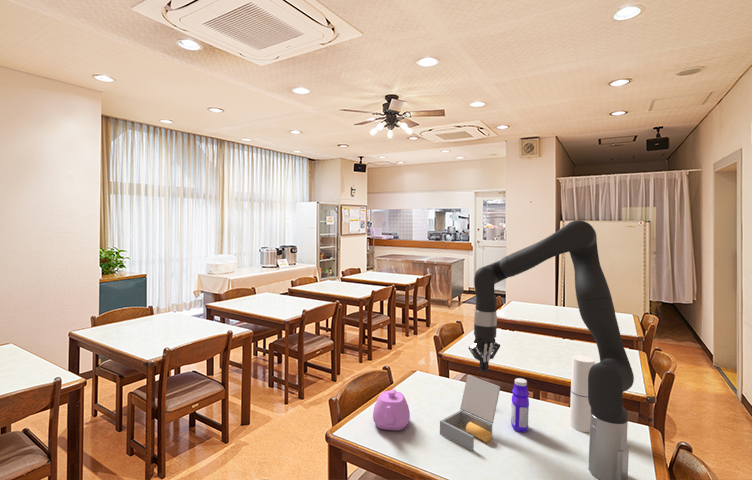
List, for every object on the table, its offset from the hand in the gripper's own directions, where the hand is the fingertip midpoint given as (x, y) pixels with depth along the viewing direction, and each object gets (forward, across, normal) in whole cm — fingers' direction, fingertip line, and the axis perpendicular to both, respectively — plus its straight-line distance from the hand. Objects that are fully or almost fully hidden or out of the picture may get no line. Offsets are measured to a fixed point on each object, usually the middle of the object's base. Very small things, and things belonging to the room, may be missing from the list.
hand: (483, 371), depth 132 cm
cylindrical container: (+21, -34, +14) cm, 42 cm away
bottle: (+21, -13, +5) cm, 25 cm away
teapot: (+21, +28, -16) cm, 39 cm away
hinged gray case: (+21, +8, +1) cm, 22 cm away
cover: (+10, +1, -1) cm, 10 cm away
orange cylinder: (+21, +6, +4) cm, 22 cm away
